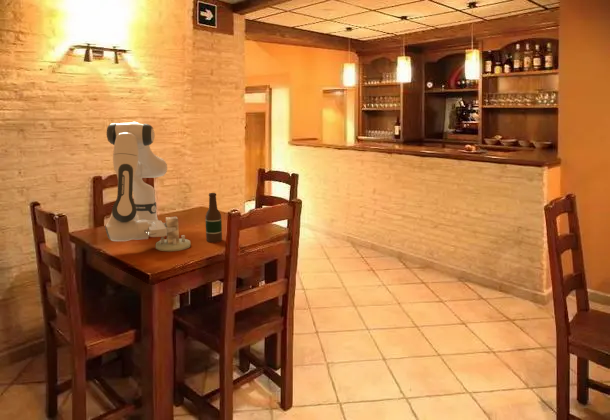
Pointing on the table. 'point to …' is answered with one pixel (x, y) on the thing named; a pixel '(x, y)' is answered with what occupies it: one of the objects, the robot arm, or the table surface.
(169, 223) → the birch block
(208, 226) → the beer bottle
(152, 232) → the robot arm
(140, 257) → the table surface
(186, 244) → the peg plinth
